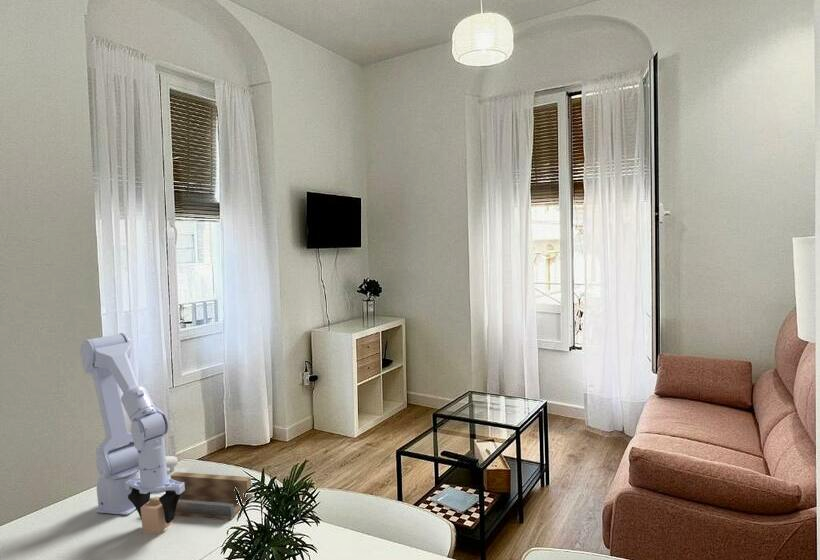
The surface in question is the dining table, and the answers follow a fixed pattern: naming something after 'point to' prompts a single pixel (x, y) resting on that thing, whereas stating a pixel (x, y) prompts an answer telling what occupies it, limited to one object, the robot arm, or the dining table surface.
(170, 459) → the wall hook
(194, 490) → the wall board
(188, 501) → the lip
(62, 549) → the dining table surface
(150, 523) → the cabinet block
